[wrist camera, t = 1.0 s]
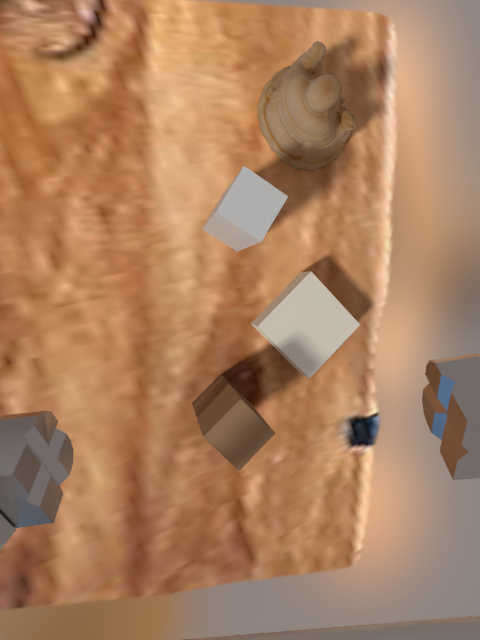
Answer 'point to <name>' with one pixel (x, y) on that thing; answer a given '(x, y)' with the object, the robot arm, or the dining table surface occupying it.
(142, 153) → the dining table surface
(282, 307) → the cream base
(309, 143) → the statue
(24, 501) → the robot arm
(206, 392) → the walnut block
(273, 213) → the grey block
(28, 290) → the dining table surface
